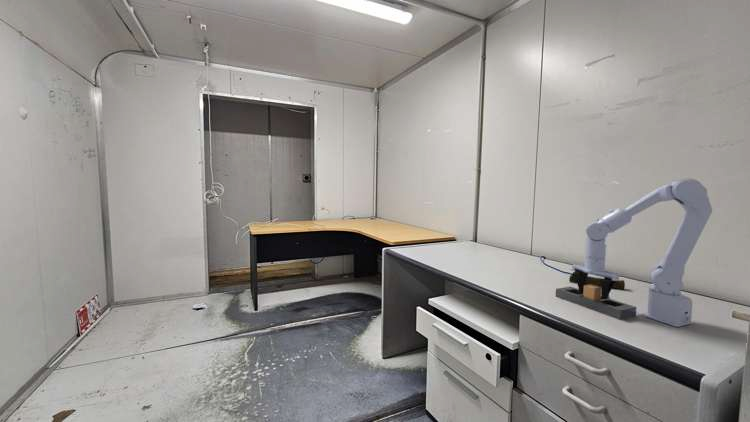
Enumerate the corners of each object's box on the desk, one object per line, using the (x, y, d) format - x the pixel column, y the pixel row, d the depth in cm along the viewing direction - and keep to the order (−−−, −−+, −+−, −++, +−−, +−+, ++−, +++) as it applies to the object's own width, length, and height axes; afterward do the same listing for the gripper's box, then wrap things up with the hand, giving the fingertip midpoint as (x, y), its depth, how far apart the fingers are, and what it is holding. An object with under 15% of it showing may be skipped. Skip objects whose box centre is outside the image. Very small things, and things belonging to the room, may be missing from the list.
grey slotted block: (635, 316, 96) (636, 307, 96) (619, 319, 93) (620, 310, 93) (570, 294, 117) (570, 286, 117) (555, 296, 114) (555, 288, 114)
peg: (600, 306, 104) (601, 287, 104) (593, 308, 103) (594, 288, 102) (589, 303, 107) (590, 284, 107) (582, 304, 106) (583, 285, 106)
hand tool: (623, 288, 124) (624, 277, 124) (624, 291, 121) (625, 280, 121) (569, 281, 135) (570, 271, 135) (569, 283, 132) (569, 272, 131)
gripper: (567, 253, 109) (565, 290, 110) (610, 262, 96) (607, 303, 97) (580, 252, 112) (578, 287, 113) (624, 261, 98) (621, 301, 99)
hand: (592, 295), depth 105 cm, fingers open, 7 cm apart
